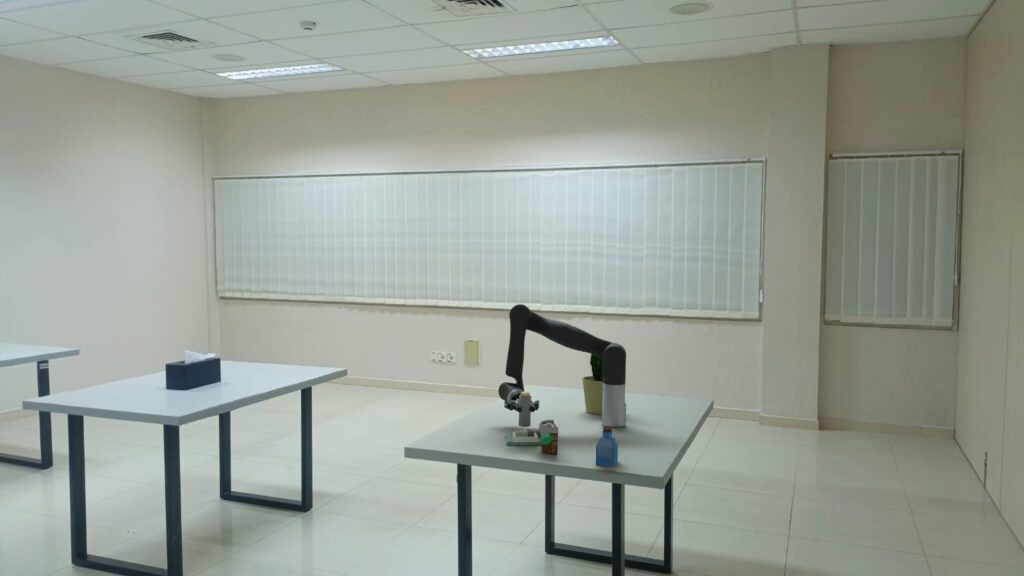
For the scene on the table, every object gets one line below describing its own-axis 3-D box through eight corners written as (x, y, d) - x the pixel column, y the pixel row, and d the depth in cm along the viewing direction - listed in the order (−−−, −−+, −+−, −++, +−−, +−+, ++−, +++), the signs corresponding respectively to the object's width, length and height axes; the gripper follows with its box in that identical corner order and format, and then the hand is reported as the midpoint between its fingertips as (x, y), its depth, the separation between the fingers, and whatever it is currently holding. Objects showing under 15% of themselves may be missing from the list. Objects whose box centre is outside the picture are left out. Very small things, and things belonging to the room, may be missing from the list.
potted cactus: (580, 414, 321) (581, 346, 319) (582, 407, 336) (583, 341, 334) (616, 416, 318) (617, 347, 317) (616, 408, 334) (618, 343, 332)
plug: (529, 423, 275) (530, 391, 274) (531, 426, 270) (532, 393, 269) (518, 423, 274) (518, 391, 274) (519, 426, 270) (520, 393, 269)
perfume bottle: (617, 461, 249) (618, 426, 249) (614, 466, 244) (614, 430, 243) (599, 459, 251) (600, 424, 251) (595, 464, 246) (596, 429, 245)
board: (541, 436, 281) (541, 428, 281) (545, 445, 269) (545, 436, 268) (504, 437, 280) (504, 428, 280) (507, 445, 268) (507, 436, 267)
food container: (536, 446, 267) (536, 419, 266) (553, 446, 267) (553, 419, 267) (540, 456, 254) (540, 427, 254) (558, 456, 255) (558, 427, 255)
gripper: (500, 390, 285) (507, 399, 268) (536, 390, 287) (545, 399, 270) (499, 409, 285) (506, 420, 268) (536, 409, 287) (545, 419, 270)
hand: (526, 409), depth 269 cm, fingers closed on plug, 4 cm apart
